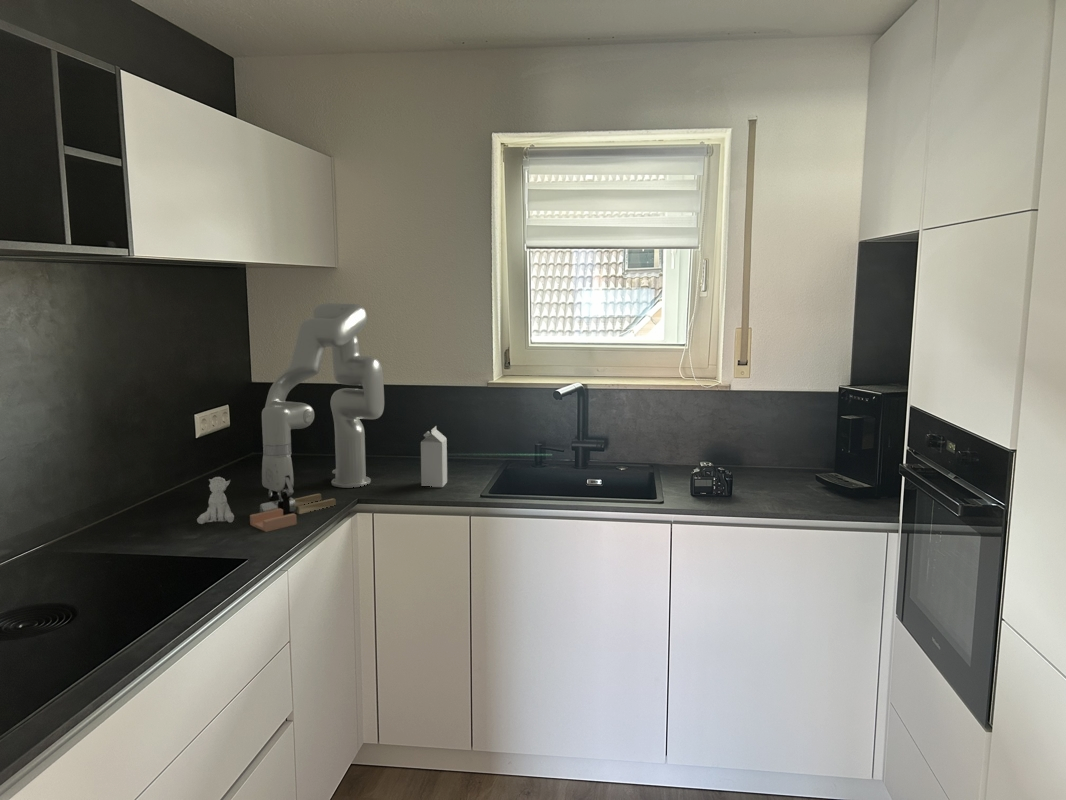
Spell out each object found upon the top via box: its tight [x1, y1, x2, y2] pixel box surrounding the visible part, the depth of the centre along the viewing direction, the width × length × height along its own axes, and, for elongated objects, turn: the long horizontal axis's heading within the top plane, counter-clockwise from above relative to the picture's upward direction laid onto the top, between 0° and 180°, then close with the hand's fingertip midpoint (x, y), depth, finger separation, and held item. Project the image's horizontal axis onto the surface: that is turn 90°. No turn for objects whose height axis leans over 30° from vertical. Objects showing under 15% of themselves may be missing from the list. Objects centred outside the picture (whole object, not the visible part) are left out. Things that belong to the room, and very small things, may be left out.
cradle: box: [249, 508, 298, 533], centre depth 210 cm, size 9×9×3 cm
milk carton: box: [420, 425, 448, 488], centre depth 252 cm, size 7×7×19 cm
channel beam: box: [293, 493, 337, 515], centre depth 227 cm, size 9×12×2 cm
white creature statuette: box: [196, 476, 235, 525], centre depth 214 cm, size 10×9×12 cm
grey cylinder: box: [259, 497, 297, 513], centre depth 220 cm, size 9×4×4 cm, turn 136°
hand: (279, 511), depth 220 cm, fingers closed on grey cylinder, 4 cm apart
